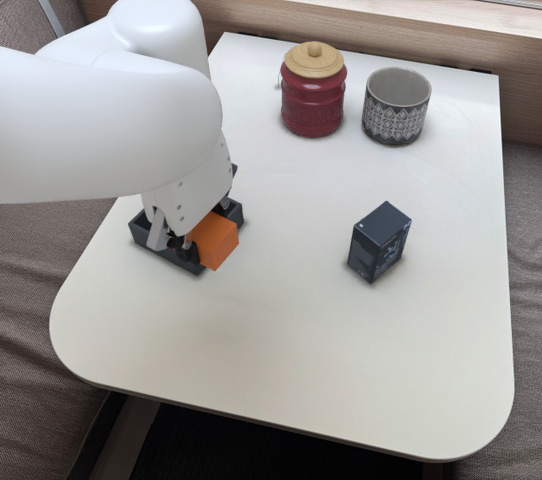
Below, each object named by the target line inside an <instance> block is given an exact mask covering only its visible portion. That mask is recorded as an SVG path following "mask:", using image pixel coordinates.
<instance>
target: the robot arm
mask: <svg viewBox="0 0 542 480" xmlns="http://www.w3.org/2000/svg"><path fill="white" fill-rule="evenodd" d="M203 24H204V23H203V18H202V16H201V13H200V11H199V9H198V8H197V6H196V4H195V3H194V2H192V0H117V1H116V2H115V3H113V4H112V6H110V9H108V13H107V14H106V16H104V17H102V18H100V19H98V20H96V21H94V22H92V23H89V24H88V25H85V26H83V27H81V28H79V29H76V30H74V31H71V32H69V33H67V34H65V35H62V36H60V37H59V38H56V39H54V40H52V41H50V42H49V43H47V44H46V45H44V46H43V47H42V48H40V49H39V50H37V51H36V52H35V53H34V54H33V53H28V52H25V51H21V50H17V49H14V48H10V47H6V46H2V45H0V205H19V204H20V205H21V204H23V205H24V204H36V203H38V204H39V203H52V202H65V201H66V202H67V201H85V200H102V199H114V198H123V197H124V198H125V197H129V196H130V197H131V196H135V195H140V199H141V202H142V206H143V209H144V210H145V213H146V216H147V219H148V220H149V221H150V222H151V223H152V226H151V230H150V233H149V237H148V240H147V244H146V245H147V246H148V247H149V248H151V249H153V250H155V251H161V250H165V249H166V248H170V249H175V251H176V255H177V257H178V258H179V259H180V260H182V261H184V262H186V263H187V262H188V261H189V262H191V263H193V264H194V265H196V266H198V265H199V264H200V257H199V253H198V249H197V244H196V242H194V241H192V229H193V228H194V227H195V226H196V225H197V224H198V223H199V222H200V221H201V220H202V219H203V218H204V217H205V216H206V215H207V214H208V213H209V212H210V211H212V212H214V213H216V214H218V215H220V216H222V217H224V218H226V219H228V217H227V211H226V210H225V209H226V208H227V207H228V206H229V200H228V198H227V197H229V194H230V191H231V189H232V186H233V182H234V178H235V176H236V173H237V171H238V169H239V166H238V165H237V164H235V163H233V162H232V160H231V155H230V151H229V147H228V143H227V139H226V137H225V135H224V132H223V129H222V127H223V117H224V116H223V115H224V113H223V105H222V102H221V100H222V99H221V97H220V94H219V92H218V90H217V88H216V87H215V85H214V83H213V82H212V77H211V76H212V75H211V70H210V62H209V55H208V47H207V43H206V41H207V40H206V35H205V34H206V33H205V29H204V25H203Z"/></svg>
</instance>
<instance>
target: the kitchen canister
mask: <svg viewBox="0 0 542 480" xmlns="http://www.w3.org/2000/svg"><path fill="white" fill-rule="evenodd" d="M285 53H286V55H285V57H284V60H283V63H282V62H281V65H280V67H279V68H280V70H279V72H280V76H281V78H282V79H281V81H280V89H281V105H280V106H281V107H280V116H281V119H282V122H283V124H284V126H285V127H286V128H287V130H289V131H290V132H291V133H293V134H294V135H298V136H299V137H303V138H304V137H305V138H310V139H311V138H313V139H315V138H322V137H326V136H329V135H331V134H333V133H335V132H336V131H337V130H339V128H340V126H341V124H342V121H343V118H344V113H345V112H344V102H345V93H346V89H347V85H346V82H345V81H346V79H347V77H348V68H347V66H346V63H345V60H344V56H343V54H342V53H341V51H339V50H338V49H336V48H335V47H333V46H331V45H329V44H327V43H325V42H321V41H316V40H314V41H306V42H302V43H299V44H297V45H294V46H293V47H291V48H290V49H288V50H287V51H286V52H285Z"/></svg>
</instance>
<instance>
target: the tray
mask: <svg viewBox="0 0 542 480" xmlns="http://www.w3.org/2000/svg"><path fill="white" fill-rule="evenodd" d="M227 198H228V200H229V206H228V207H227V208H226V209H225V210H226V211H227V217H228V220H230V221H232V222H234V223H236V224H237V231H239V229H240V228H241V227H242V226H243V225H244V223H245V220H244V210H243V203H242V202H239V201H237V200H235V199H233V198H231V197H229V196H228V197H227ZM127 226H128V229H129V231H130V234H131V236H132V239H133V241H134V243H135V244H136V245H139V246H140V247H142V248H144V249H146V250H148V251H149V252H152V253H154V254H155V255H157V256H159V257H161V258H162V259H164V260H167V261H169V263H173V264H174V265H176V266H178V267H180V268H182V269H183V270H185V271H187V272H188V273H191V274H193V275H195V276H196V277H198V276H199V275H200V274H201V273H202V272H203V271H204V270H205V268H207V267H206V266H204V265H202V264H199V265H198V266H196V265H194V264H193V263H191V262H189V261H188V262H187V263H186V262H184V261H182V260H180V259H179V258H178V257H177V255H176V251H175V250H174V249H170V248H166V249H165V250H161V251H155V250H153V249H151V248H149V247H148V246H147V245H146V244H147V240H148V237H149V233H150V230H151V226H152V223H151V222H150V221H149V220H148V219H147V216H146V213H145V210H144V208H142V209H141V210H140V211H138V213H137V214H136V215H135V216H134V217H133V218H132V219H130V221H128V223H127Z"/></svg>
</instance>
